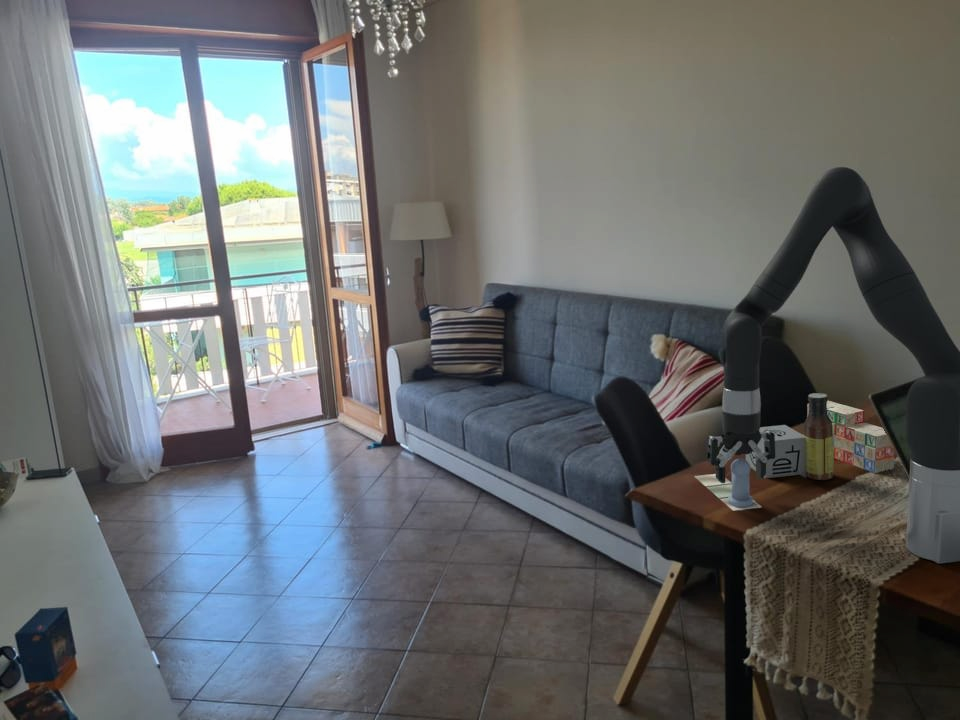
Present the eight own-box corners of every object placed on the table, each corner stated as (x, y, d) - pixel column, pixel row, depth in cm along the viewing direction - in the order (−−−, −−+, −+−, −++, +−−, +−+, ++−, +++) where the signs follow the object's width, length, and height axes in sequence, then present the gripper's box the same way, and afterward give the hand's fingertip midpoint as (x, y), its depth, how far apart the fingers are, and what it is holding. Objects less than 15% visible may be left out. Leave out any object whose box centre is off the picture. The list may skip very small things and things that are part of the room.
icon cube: (806, 477, 167) (807, 437, 165) (765, 482, 166) (765, 441, 164) (784, 463, 176) (784, 424, 174) (745, 467, 176) (745, 428, 174)
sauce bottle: (827, 471, 169) (829, 390, 165) (837, 481, 163) (840, 397, 159) (798, 472, 170) (800, 392, 166) (808, 482, 164) (810, 399, 160)
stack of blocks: (895, 469, 168) (897, 419, 165) (874, 474, 166) (876, 423, 163) (825, 443, 188) (826, 399, 185) (805, 448, 186) (806, 402, 183)
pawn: (757, 506, 151) (757, 461, 149) (734, 508, 151) (734, 464, 149) (746, 497, 156) (746, 454, 154) (724, 499, 156) (724, 456, 154)
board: (764, 511, 151) (764, 507, 150) (732, 515, 150) (732, 511, 150) (720, 476, 171) (720, 472, 171) (692, 479, 170) (692, 475, 170)
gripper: (765, 399, 154) (763, 470, 157) (701, 406, 153) (701, 476, 156) (782, 409, 146) (781, 483, 150) (716, 416, 145) (716, 490, 149)
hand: (740, 479), depth 153 cm, fingers open, 8 cm apart
